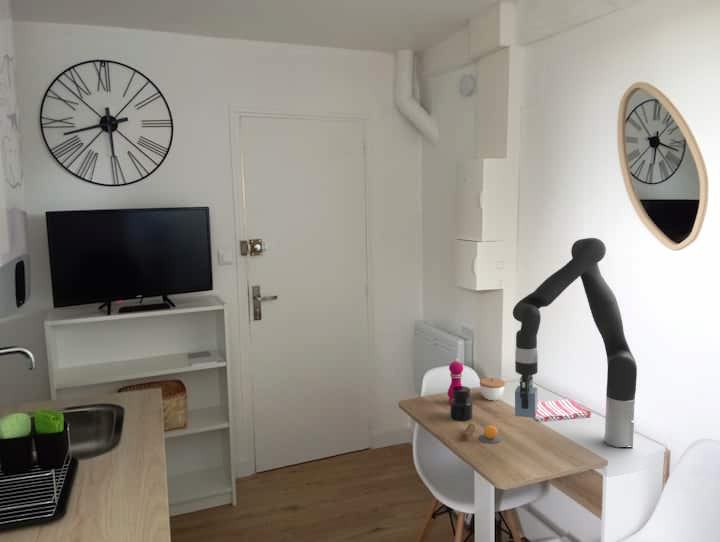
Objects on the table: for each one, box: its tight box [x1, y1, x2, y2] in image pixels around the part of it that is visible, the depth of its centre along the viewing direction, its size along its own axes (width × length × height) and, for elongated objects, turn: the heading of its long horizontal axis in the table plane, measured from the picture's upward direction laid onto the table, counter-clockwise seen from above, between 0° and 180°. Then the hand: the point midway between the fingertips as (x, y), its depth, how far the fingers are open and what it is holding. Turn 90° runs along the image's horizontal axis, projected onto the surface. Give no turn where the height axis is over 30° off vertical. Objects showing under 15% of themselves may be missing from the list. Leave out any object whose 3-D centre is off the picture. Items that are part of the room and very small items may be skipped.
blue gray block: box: [514, 385, 538, 419], centre depth 199 cm, size 7×7×9 cm
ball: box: [483, 424, 499, 439], centre depth 207 cm, size 5×5×5 cm
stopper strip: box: [462, 423, 476, 442], centre depth 210 cm, size 2×10×2 cm, turn 155°
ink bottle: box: [449, 385, 474, 422], centre depth 227 cm, size 10×9×12 cm
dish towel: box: [534, 398, 592, 423], centre depth 231 cm, size 17×23×4 cm
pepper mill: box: [447, 358, 464, 405], centre depth 241 cm, size 7×7×20 cm
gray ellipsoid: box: [478, 433, 502, 444], centre depth 207 cm, size 8×8×1 cm
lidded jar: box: [479, 377, 506, 402], centre depth 247 cm, size 11×11×9 cm
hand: (526, 404), depth 199 cm, fingers closed on blue gray block, 7 cm apart
